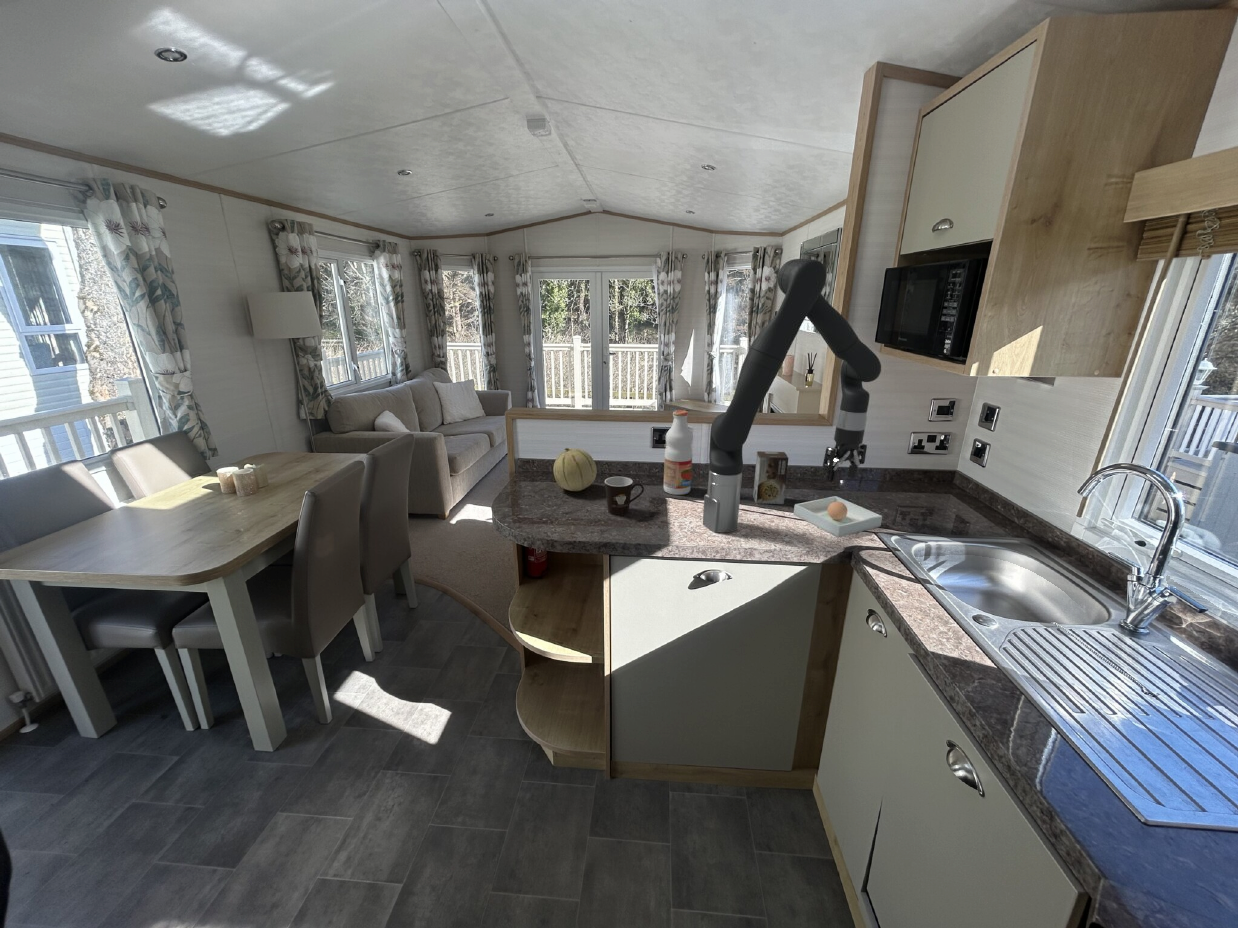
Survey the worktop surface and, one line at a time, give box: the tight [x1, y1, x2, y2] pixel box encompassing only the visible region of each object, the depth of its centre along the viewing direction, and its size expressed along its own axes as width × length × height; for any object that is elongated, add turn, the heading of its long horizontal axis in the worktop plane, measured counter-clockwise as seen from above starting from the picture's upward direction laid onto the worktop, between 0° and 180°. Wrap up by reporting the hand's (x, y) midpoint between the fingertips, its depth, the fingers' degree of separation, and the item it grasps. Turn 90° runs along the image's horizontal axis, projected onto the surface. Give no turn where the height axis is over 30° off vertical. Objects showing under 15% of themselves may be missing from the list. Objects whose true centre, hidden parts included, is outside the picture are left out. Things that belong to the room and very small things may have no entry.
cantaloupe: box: [552, 447, 598, 492], centre depth 171 cm, size 15×15×15 cm
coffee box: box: [752, 450, 789, 505], centre depth 163 cm, size 9×6×16 cm
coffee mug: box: [604, 476, 645, 516], centre depth 154 cm, size 12×9×10 cm
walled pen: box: [793, 495, 883, 538], centre depth 150 cm, size 17×17×3 cm
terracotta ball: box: [827, 502, 847, 520], centre depth 149 cm, size 6×6×6 cm
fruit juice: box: [663, 409, 694, 496], centre depth 169 cm, size 9×9×28 cm
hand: (841, 479), depth 146 cm, fingers open, 8 cm apart
